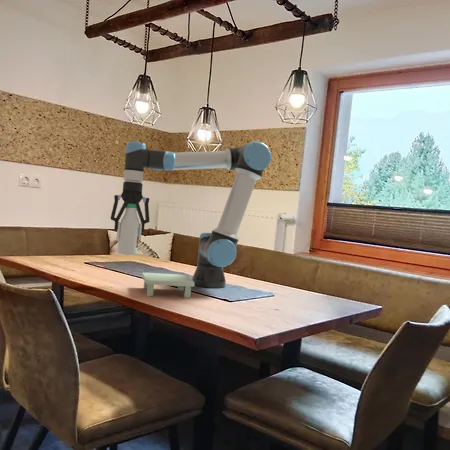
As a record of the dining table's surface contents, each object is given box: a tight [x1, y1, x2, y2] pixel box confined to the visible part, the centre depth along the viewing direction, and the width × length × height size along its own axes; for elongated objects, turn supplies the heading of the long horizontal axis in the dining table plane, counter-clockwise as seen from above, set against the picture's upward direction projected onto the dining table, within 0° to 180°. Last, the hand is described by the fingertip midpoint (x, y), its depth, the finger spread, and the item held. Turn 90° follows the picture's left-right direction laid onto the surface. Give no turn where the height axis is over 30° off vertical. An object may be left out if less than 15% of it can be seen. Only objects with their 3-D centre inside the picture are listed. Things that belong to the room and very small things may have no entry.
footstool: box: [141, 272, 196, 299], centre depth 184 cm, size 18×18×6 cm
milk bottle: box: [116, 203, 140, 256], centre depth 187 cm, size 8×8×20 cm
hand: (128, 239), depth 187 cm, fingers closed on milk bottle, 8 cm apart
